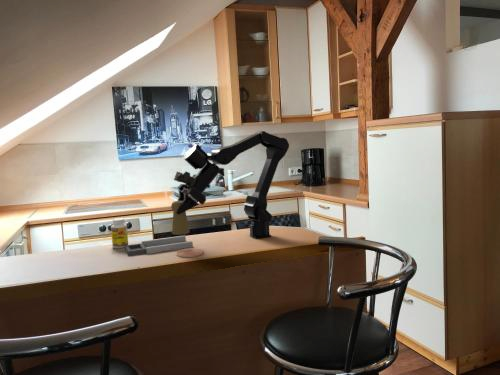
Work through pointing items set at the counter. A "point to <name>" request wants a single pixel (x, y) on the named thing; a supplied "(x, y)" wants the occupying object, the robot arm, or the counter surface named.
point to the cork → (179, 220)
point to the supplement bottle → (119, 233)
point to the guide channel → (168, 246)
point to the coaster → (190, 252)
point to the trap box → (135, 249)
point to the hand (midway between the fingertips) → (175, 212)
